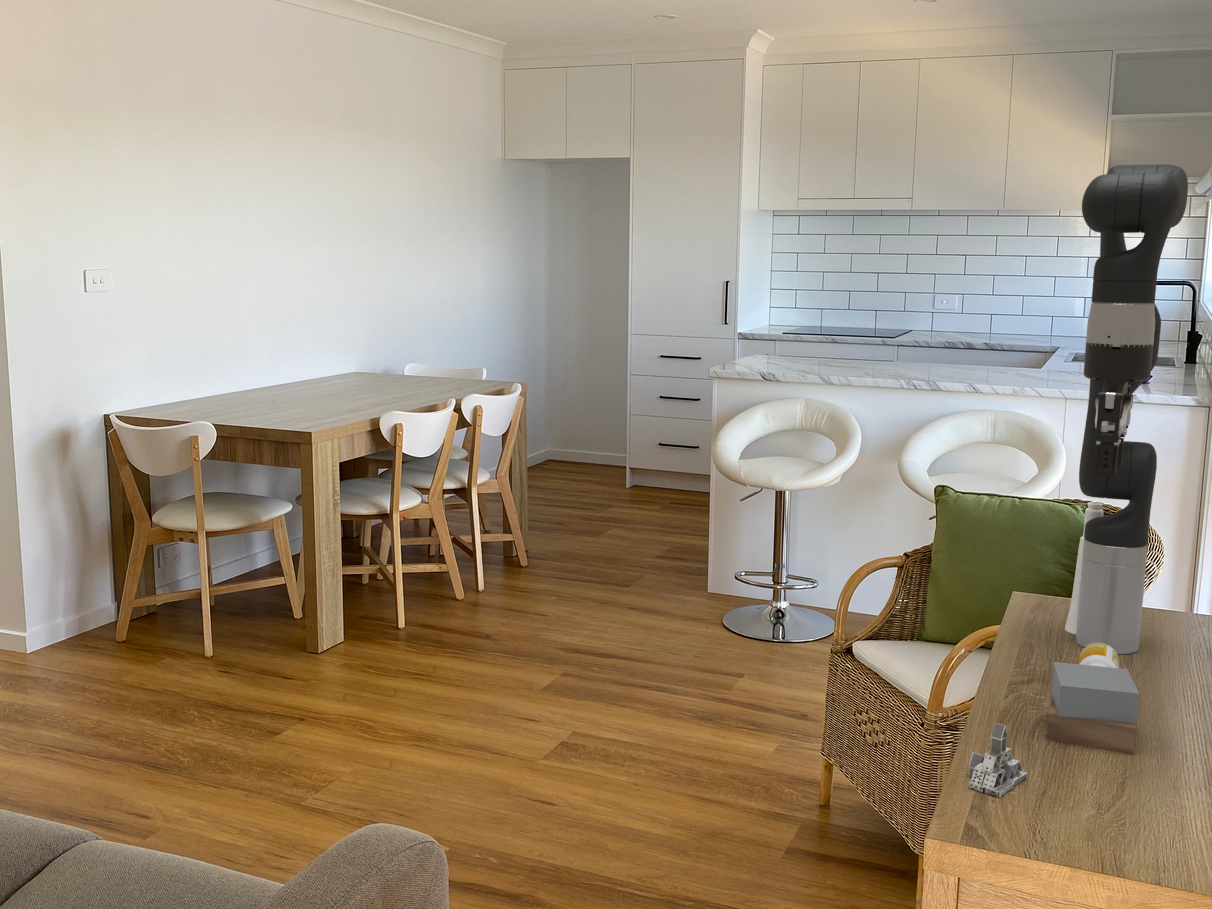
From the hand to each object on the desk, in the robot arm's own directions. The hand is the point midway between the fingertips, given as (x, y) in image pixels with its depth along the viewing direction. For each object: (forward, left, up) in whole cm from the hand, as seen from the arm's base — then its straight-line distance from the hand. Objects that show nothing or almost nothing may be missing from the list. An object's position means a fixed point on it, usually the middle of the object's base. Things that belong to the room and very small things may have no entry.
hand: (1108, 471), depth 137 cm
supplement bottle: (-20, +11, -31) cm, 39 cm away
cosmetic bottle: (-42, +19, -34) cm, 58 cm away
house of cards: (+14, -19, -35) cm, 41 cm away
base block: (+1, 0, -34) cm, 35 cm away
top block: (+1, 0, -30) cm, 31 cm away
